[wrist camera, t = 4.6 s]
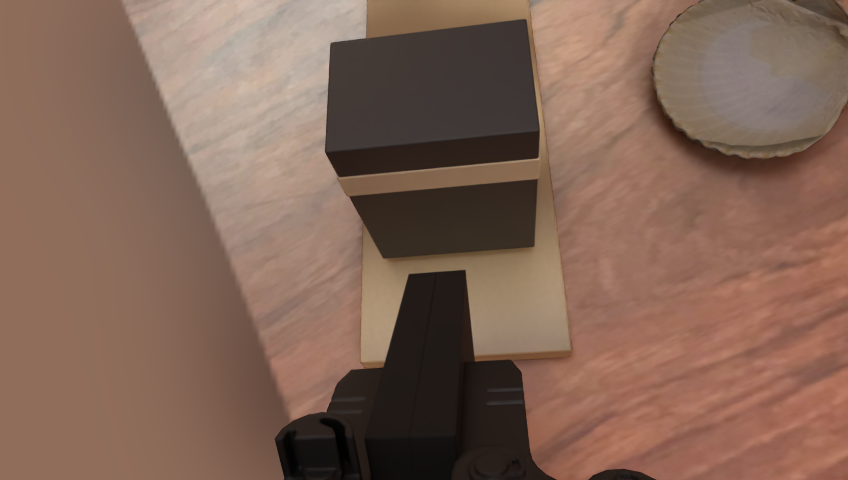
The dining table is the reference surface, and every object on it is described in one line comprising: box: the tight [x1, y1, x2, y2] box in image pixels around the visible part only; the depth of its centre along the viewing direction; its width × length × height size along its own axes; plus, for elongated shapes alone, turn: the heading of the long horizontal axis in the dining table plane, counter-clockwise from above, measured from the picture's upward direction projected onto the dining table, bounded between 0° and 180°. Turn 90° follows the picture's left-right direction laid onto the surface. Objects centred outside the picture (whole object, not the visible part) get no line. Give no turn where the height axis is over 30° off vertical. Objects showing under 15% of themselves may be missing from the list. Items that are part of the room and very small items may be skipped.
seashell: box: [651, 0, 848, 160], centre depth 25 cm, size 8×3×8 cm
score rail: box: [360, 0, 572, 368], centre depth 28 cm, size 30×8×4 cm, turn 1°
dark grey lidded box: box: [325, 19, 541, 259], centre depth 21 cm, size 4×6×8 cm
